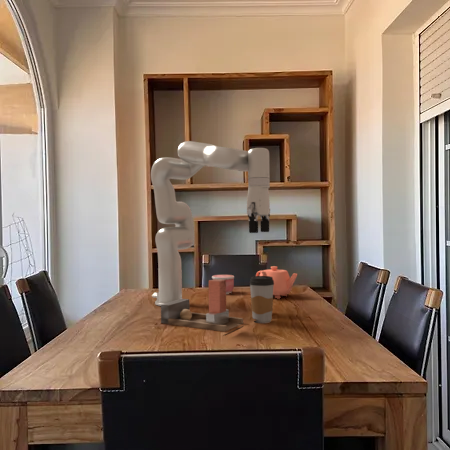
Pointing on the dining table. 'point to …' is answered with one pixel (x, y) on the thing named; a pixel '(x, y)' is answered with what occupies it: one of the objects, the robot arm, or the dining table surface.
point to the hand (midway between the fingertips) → (259, 232)
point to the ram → (217, 302)
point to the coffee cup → (262, 298)
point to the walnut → (185, 314)
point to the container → (228, 279)
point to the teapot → (279, 280)
